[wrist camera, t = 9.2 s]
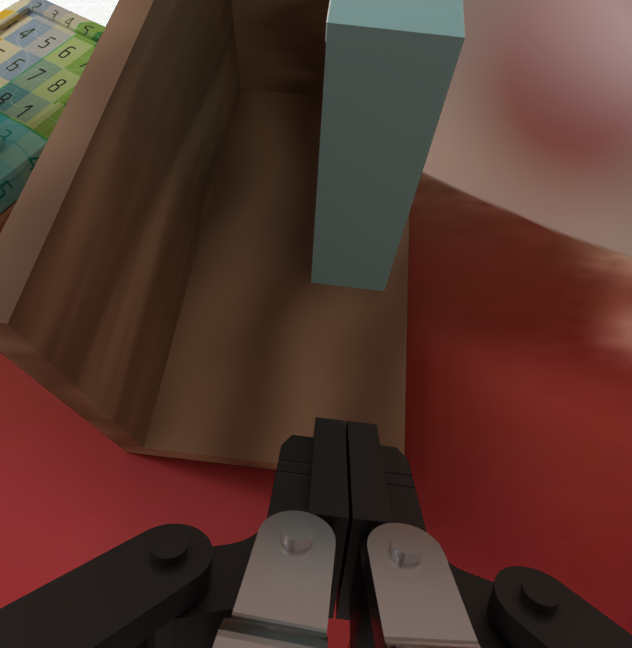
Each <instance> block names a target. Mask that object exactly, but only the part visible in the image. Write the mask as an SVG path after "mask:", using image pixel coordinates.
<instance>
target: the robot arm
mask: <svg viewBox="0 0 632 648" xmlns="http://www.w3.org/2000/svg"><path fill="white" fill-rule="evenodd" d="M335 601H336V619H345V620H350V639H349V645H348V648H632V635H631V634H630V633H628V632H627V631H625V630H624V629H623V628H621V627H620V626H619V625H617V624H616V623H615V622H613V621H612V620H611V619H609V618H608V617H607V616H605V615H604V614H602V613H601V612H600V611H598V610H597V609H596V608H594V607H593V606H592V605H590V604H589V603H588V602H586V601H585V600H584V599H582V598H581V597H579V596H578V595H577V594H575V593H574V592H573V591H571V590H570V589H569V588H567V587H566V586H565V585H563V584H562V583H561V582H559V581H558V580H556V579H555V578H553V577H551V576H549V575H548V574H546V573H543V572H541V571H539V570H535V569H532V568H528V567H521V566H513V567H508V568H505V569H503V570H501V571H500V572H499V573H498V574H497V576H496V578H495V581H494V582H491V581H489V580H486V579H483V578H481V577H478V576H475V575H472V574H470V573H467V572H465V571H463V570H460V569H458V568H457V567H455V566H453V565H452V564H450V563H449V562H447V559H446V556H445V554H444V551H443V549H442V547H441V546H440V545H439V543H438V542H437V541H436V540H435V539H434V538H433V537H432V536H431V535H429V534H428V533H426V529H425V525H424V521H423V517H422V513H421V509H420V505H419V501H418V497H417V493H416V490H415V485H414V481H413V478H412V473H411V469H410V465H409V461H408V460H407V458H406V457H405V456H404V455H403V454H402V453H401V452H400V450H399V449H398V448H397V447H391V446H382V445H380V440H379V434H378V428H377V425H376V424H370V423H362V422H353V421H347V422H346V426H345V421H344V420H336V419H328V418H319V417H316V418H315V425H314V433H313V437H307V436H299V435H291V436H290V437H289V438H288V439H287V440H286V441H285V442H284V443H283V444H282V445H281V449H280V454H279V459H278V464H277V469H276V475H275V480H274V485H273V490H272V495H271V501H270V506H269V511H268V516H267V519H266V520H265V521H264V522H263V523H262V525H261V526H260V528H259V530H258V532H257V533H256V534H255V535H253V536H252V537H250V538H248V539H246V540H244V541H241V542H237V543H233V544H227V545H220V546H213V547H212V545H211V542H210V540H209V538H208V537H207V536H206V535H205V534H204V533H203V532H202V531H200V530H199V529H196V528H194V527H192V526H188V525H183V524H166V525H161V526H157V527H154V528H151V529H149V530H147V531H145V532H143V533H141V534H139V535H137V536H136V537H134V538H132V539H130V540H128V541H126V542H124V543H122V544H121V545H119V546H117V547H115V548H113V549H111V550H109V551H107V552H106V553H104V554H102V555H100V556H98V557H96V558H94V559H92V560H91V561H89V562H87V563H85V564H83V565H81V566H79V567H78V568H76V569H74V570H72V571H70V572H68V573H66V574H64V575H63V576H61V577H59V578H57V579H55V580H53V581H51V582H49V583H48V584H46V585H44V586H42V587H40V588H38V589H36V590H34V591H33V592H31V593H29V594H27V595H25V596H23V597H21V598H19V599H18V600H16V601H14V602H12V603H10V604H8V605H6V606H5V607H3V608H1V609H0V648H327V645H328V637H326V636H327V625H328V618H333V614H334V607H335Z"/></svg>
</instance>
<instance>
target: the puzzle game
mask: <svg viewBox="0 0 632 648" xmlns="http://www.w3.org/2000/svg"><path fill="white" fill-rule="evenodd" d="M104 29H105V27H104V26H102V25H99V24H97V23H95V22H93V21H91V20H88V19H86V18H84V17H82V16H79V15H77V14H75V13H73V12H71V11H68V10H66V9H64V8H62V7H60V6H57V5H55V4H53V3H51V2H48V1H46V0H20V1H18V2H16V3H15V4H13V5H11V6H10V7H8V8H6V9H5V10H3V11H1V12H0V232H1V231H2V229H3V227H4V225H5V223H6V221H7V219H8V217H9V215H10V214H11V212H12V210H13V208H14V206H15V204H16V202H17V200H18V198H19V196H20V194H21V192H22V190H23V188H24V186H25V184H26V182H27V180H28V178H29V176H30V174H31V172H32V170H33V168H34V166H35V165H36V163H37V161H38V159H39V157H40V155H41V153H42V151H43V149H44V147H45V145H46V143H47V141H48V139H49V137H50V135H51V133H52V131H53V129H54V127H55V125H56V123H57V121H58V119H59V117H60V115H61V114H62V112H63V110H64V108H65V106H66V104H67V102H68V100H69V98H70V96H71V94H72V92H73V90H74V88H75V86H76V84H77V82H78V80H79V78H80V76H81V74H82V72H83V70H84V68H85V66H86V65H87V63H88V61H89V59H90V57H91V55H92V53H93V51H94V49H95V47H96V45H97V43H98V41H99V39H100V37H101V35H102V33H103V31H104Z"/></svg>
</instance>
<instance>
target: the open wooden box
mask: <svg viewBox="0 0 632 648" xmlns="http://www.w3.org/2000/svg"><path fill="white" fill-rule="evenodd" d="M329 2H330V0H119V2H118V4H117V6H116V8H115V10H114V12H113V14H112V15H111V17H110V19H109V21H108V23H107V25H106V27H105V29H104V31H103V33H102V35H101V37H100V39H99V41H98V43H97V45H96V47H95V49H94V51H93V53H92V55H91V57H90V59H89V61H88V63H87V65H86V66H85V68H84V70H83V72H82V74H81V76H80V78H79V80H78V82H77V84H76V86H75V88H74V90H73V92H72V94H71V96H70V98H69V100H68V102H67V104H66V106H65V108H64V110H63V112H62V114H61V115H60V117H59V119H58V121H57V123H56V125H55V127H54V129H53V131H52V133H51V135H50V137H49V139H48V141H47V143H46V145H45V147H44V149H43V151H42V153H41V155H40V157H39V159H38V161H37V163H36V165H35V166H34V168H33V170H32V172H31V174H30V176H29V178H28V180H27V182H26V184H25V186H24V188H23V190H22V192H21V194H20V196H19V198H18V200H17V202H16V204H15V206H14V208H13V210H12V212H11V214H10V215H9V217H8V219H7V221H6V223H5V225H4V227H3V229H2V231H1V233H0V353H2V354H3V355H4V356H6V357H7V358H8V359H9V360H11V361H12V362H13V363H14V364H16V365H17V366H18V367H19V368H21V369H22V370H23V371H25V372H26V373H27V374H28V375H30V376H31V377H32V378H33V379H35V380H36V381H37V382H38V383H40V384H41V385H42V386H44V387H45V388H46V389H47V390H49V391H50V392H51V393H52V394H54V395H55V396H56V397H57V398H59V399H60V400H61V401H63V402H64V403H65V404H66V405H68V406H69V407H70V408H71V409H73V410H74V411H75V412H76V413H78V414H79V415H80V416H81V417H83V418H84V419H85V420H87V421H88V422H89V423H90V424H92V425H93V426H94V427H95V428H97V429H98V430H99V431H100V432H102V433H103V434H104V435H106V436H107V437H108V438H109V439H111V440H112V441H113V442H114V443H116V444H117V445H118V446H119V447H121V448H122V449H123V450H125V451H126V452H127V453H136V454H144V455H153V456H162V457H170V458H179V459H187V460H196V461H205V462H213V463H222V464H230V465H239V466H248V467H256V468H265V469H273V470H276V469H277V464H278V459H279V454H280V449H281V445H282V444H283V443H284V442H285V441H286V440H287V439H288V438H289V437H290V436H291V435H299V436H307V437H313V433H314V425H315V418H316V417H319V418H328V419H336V420H344V421H345V426H346V422H347V421H353V422H362V423H370V424H376V425H377V428H378V434H379V440H380V445H382V446H391V447H397V448H398V449H399V450H400V452H401V453H402V454H403V455H404V453H405V403H406V354H407V304H408V255H409V215H408V218H407V221H406V224H405V228H404V231H403V234H402V237H401V240H400V243H399V247H398V250H397V253H396V256H395V259H394V262H393V265H392V269H391V272H390V275H389V278H388V281H387V284H386V287H385V291H379V290H370V289H362V288H353V287H344V286H336V285H327V284H318V283H311V274H312V258H313V242H314V226H315V211H316V195H317V179H318V164H319V148H320V132H321V116H322V101H323V85H324V69H325V54H326V42H325V34H326V20H327V14H328V8H329Z"/></svg>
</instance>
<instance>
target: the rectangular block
mask: <svg viewBox="0 0 632 648" xmlns="http://www.w3.org/2000/svg"><path fill="white" fill-rule="evenodd" d="M464 39H465V24H464V6H463V0H330V2H329V8H328V14H327V20H326V34H325V42H326V54H325V69H324V85H323V101H322V116H321V132H320V148H319V164H318V179H317V195H316V211H315V226H314V242H313V258H312V274H311V283H318V284H327V285H336V286H344V287H353V288H362V289H370V290H379V291H385V287H386V284H387V281H388V278H389V275H390V272H391V269H392V265H393V262H394V259H395V256H396V253H397V250H398V247H399V243H400V240H401V237H402V234H403V231H404V228H405V224H406V221H407V218H408V215H409V212H410V209H411V206H412V202H413V199H414V196H415V193H416V190H417V187H418V183H419V180H420V177H421V174H422V171H423V167H424V164H425V161H426V158H427V155H428V152H429V148H430V146H431V142H432V139H433V136H434V133H435V130H436V127H437V124H438V120H439V117H440V114H441V111H442V107H443V105H444V101H445V98H446V95H447V92H448V89H449V86H450V82H451V79H452V76H453V73H454V70H455V67H456V63H457V61H458V57H459V55H460V52H461V48H462V46H463V42H464Z"/></svg>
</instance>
